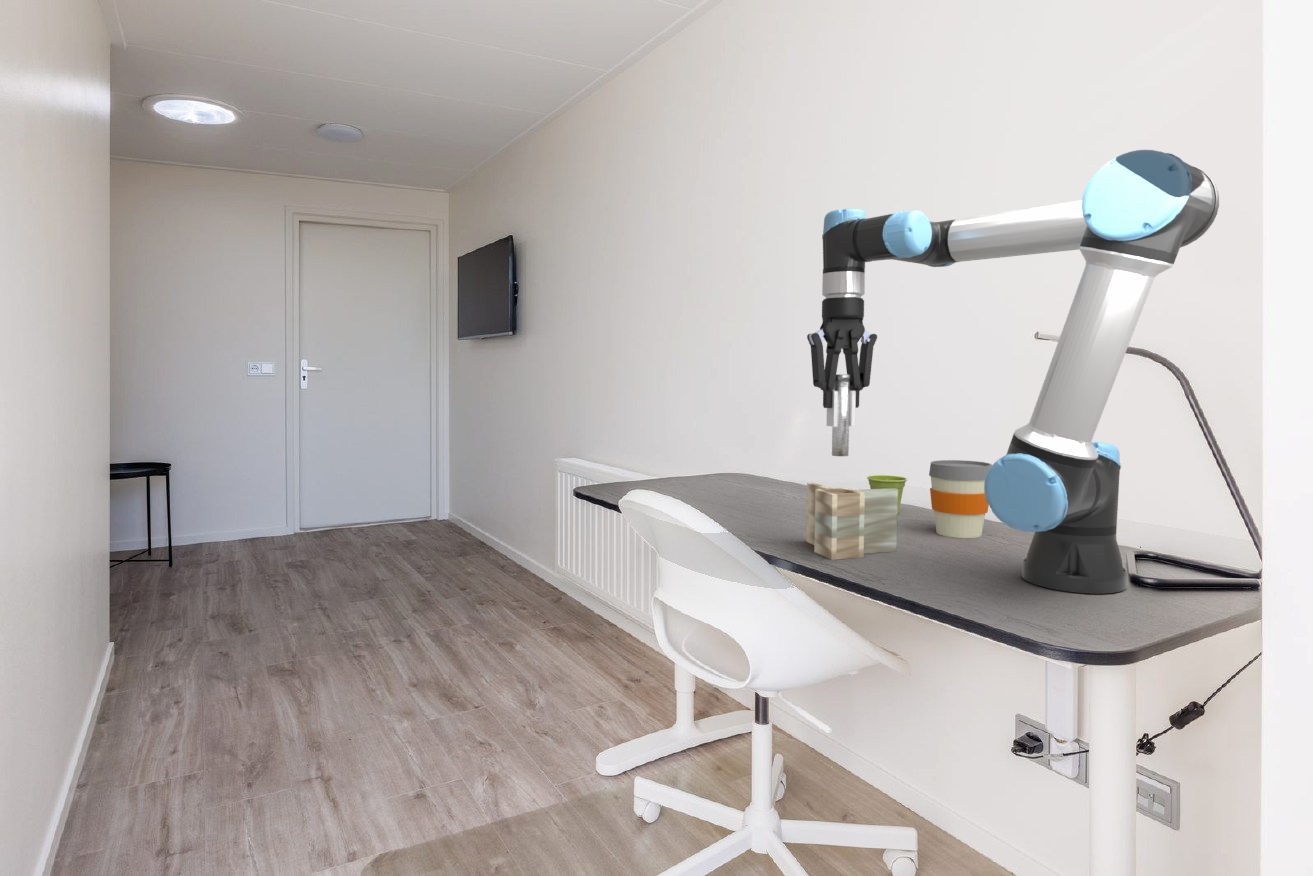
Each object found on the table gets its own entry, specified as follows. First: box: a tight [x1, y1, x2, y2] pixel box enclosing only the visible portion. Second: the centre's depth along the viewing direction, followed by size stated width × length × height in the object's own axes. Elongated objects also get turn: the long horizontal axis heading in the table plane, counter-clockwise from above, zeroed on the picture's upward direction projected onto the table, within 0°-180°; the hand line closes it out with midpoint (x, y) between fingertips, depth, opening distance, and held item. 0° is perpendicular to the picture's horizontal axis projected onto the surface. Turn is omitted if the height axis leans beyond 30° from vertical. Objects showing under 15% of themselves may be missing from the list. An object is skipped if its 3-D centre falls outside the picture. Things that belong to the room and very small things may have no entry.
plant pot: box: [866, 474, 908, 515], centre depth 191 cm, size 9×9×9 cm
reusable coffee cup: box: [928, 459, 993, 539], centre depth 166 cm, size 12×13×15 cm
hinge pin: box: [831, 374, 851, 457], centre depth 145 cm, size 3×3×15 cm
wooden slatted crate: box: [805, 482, 898, 561], centre depth 152 cm, size 15×15×12 cm
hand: (840, 425), depth 145 cm, fingers closed on hinge pin, 3 cm apart
